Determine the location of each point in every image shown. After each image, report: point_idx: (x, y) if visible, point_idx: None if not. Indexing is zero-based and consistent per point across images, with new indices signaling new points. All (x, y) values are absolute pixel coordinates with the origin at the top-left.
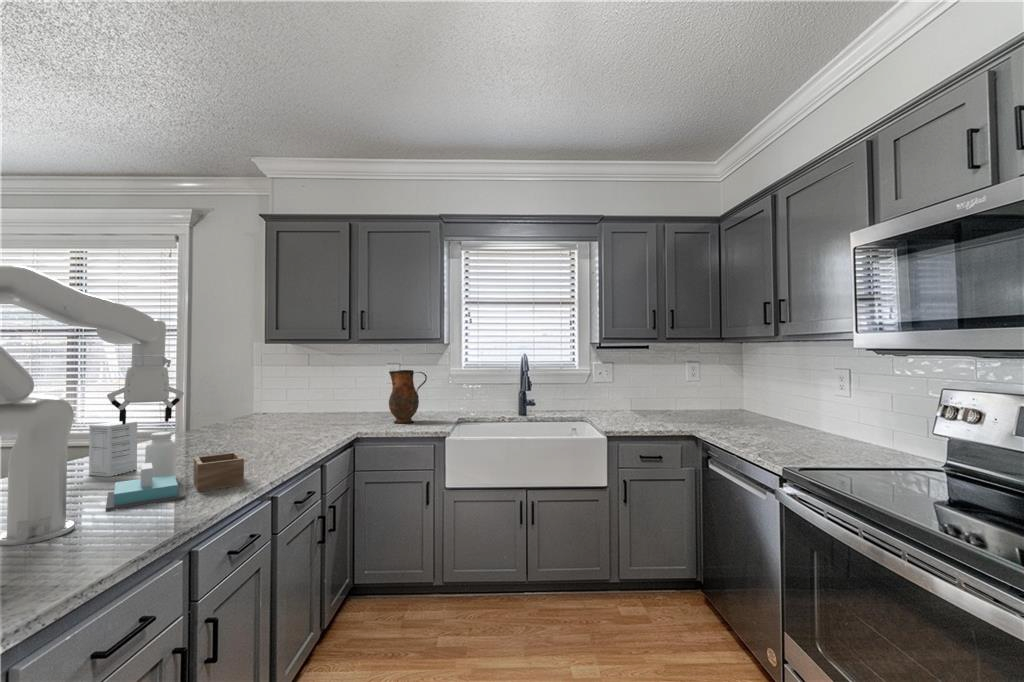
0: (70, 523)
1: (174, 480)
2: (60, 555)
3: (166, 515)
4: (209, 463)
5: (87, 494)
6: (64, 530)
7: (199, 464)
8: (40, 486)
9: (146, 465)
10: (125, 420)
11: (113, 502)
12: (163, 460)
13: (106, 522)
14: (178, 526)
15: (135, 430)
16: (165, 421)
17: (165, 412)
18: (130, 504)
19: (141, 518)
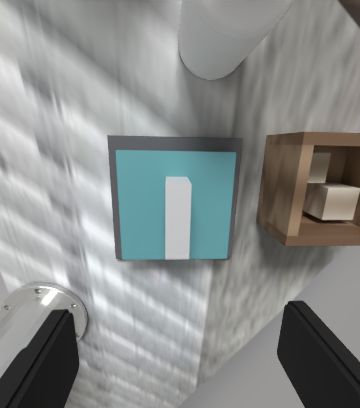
0: (79, 318)
1: (227, 216)
2: (92, 393)
3: (195, 324)
4: (309, 245)
5: (67, 94)
6: (78, 340)
7: (288, 245)
8: None
9: (177, 216)
10: (68, 391)
11: None
12: (229, 60)
13: (123, 311)
14: (202, 371)
15: None
16: (277, 353)
17: (320, 391)
18: None
19: (165, 319)
